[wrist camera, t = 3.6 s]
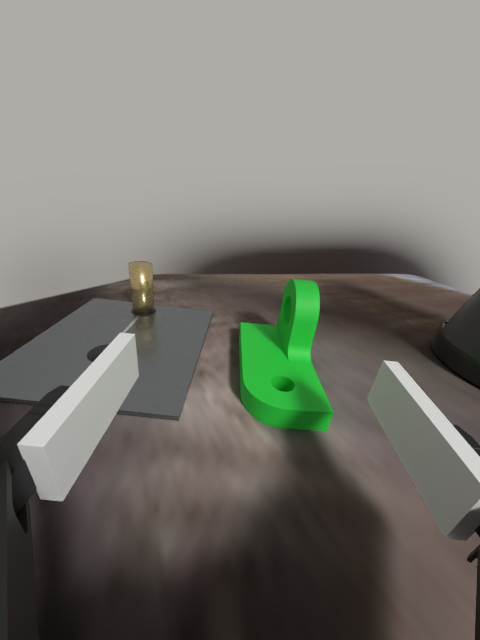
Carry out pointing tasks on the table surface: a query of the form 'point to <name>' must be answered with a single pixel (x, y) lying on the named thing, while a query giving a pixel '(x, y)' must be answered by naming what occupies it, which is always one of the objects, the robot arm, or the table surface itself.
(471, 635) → the table surface
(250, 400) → the mechanical part
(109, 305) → the bolt plate
